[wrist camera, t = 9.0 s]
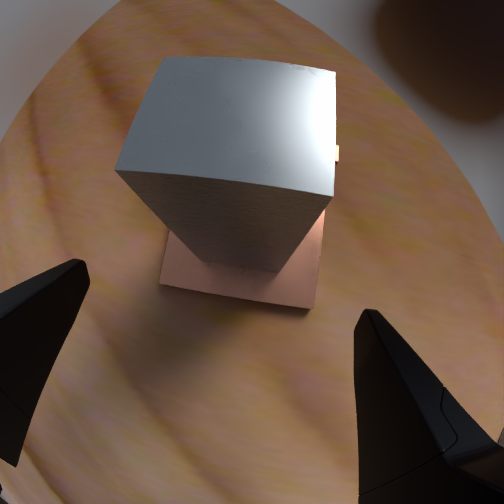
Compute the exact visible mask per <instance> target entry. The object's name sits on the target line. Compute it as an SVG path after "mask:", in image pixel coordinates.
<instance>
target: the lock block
mask: <svg viewBox="0 0 504 504" xmlns="http://www.w3.org/2000/svg"><path fill="white" fill-rule="evenodd" d="M335 141H336V89H335V72H332V71H327V70H323V69H318V68H312V67H307V66H301V65H295V64H289V63H282V62H274V61H266V60H256V59H245V58H230V57H164V59H163V61H162V63H161V64H160V66H159V68H158V70H157V72H156V74H155V76H154V78H153V80H152V82H151V84H150V86H149V88H148V90H147V92H146V94H145V96H144V98H143V100H142V102H141V105H140V107H139V109H138V111H137V113H136V116H135V118H134V120H133V123H132V125H131V127H130V130H129V132H128V135H127V137H126V140H125V142H124V145H123V147H122V150H121V153H120V155H119V158H118V161H117V164H116V166H115V169H114V170H115V171H116V172H117V173H118V174H119V176H120V177H121V178H122V179H123V180H124V181H125V182H126V183H127V184H128V185H129V187H130V188H131V189H132V190H133V191H134V192H135V193H136V194H137V195H138V196H139V197H140V198H141V200H142V201H143V202H144V203H145V204H146V205H147V206H148V207H149V208H150V209H151V210H152V211H153V212H154V213H155V214H156V215H157V217H158V218H159V219H160V220H161V221H162V222H163V223H164V224H165V225H166V226H167V227H168V228H169V229H170V230H171V231H172V232H173V233H174V234H175V235H176V236H177V237H178V238H179V239H180V240H181V241H182V242H183V243H184V244H185V245H186V247H187V248H188V249H189V250H190V251H191V252H192V253H193V254H194V255H195V256H196V257H197V258H198V259H199V260H200V261H204V262H210V263H217V264H223V265H229V266H236V267H242V268H248V269H255V270H261V271H268V272H275V273H279V272H280V271H281V270H282V268H283V267H284V265H285V264H286V263H287V261H288V260H289V259H290V257H291V256H292V254H293V253H294V252H295V250H296V249H297V247H298V246H299V245H300V243H301V242H302V240H303V239H304V238H305V236H306V235H307V233H308V232H309V231H310V229H311V228H312V226H313V225H314V224H315V222H316V221H317V219H318V218H319V216H320V215H321V214H322V212H323V211H324V209H325V208H326V206H327V205H328V203H329V202H330V201H331V199H332V198H333V192H334V172H335Z"/></svg>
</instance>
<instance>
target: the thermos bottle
mask: <svg viewBox="0 0 504 504" xmlns="http://www.w3.org/2000/svg"><path fill="white" fill-rule="evenodd" d="M498 444H499V445H501V446H502V447H504V429H503V432H502V434H501V437H500V440H499V443H498Z"/></svg>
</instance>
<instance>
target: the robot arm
mask: <svg viewBox="0 0 504 504" xmlns="http://www.w3.org/2000/svg"><path fill="white" fill-rule="evenodd" d="M89 286H90V278H89V274H88V270H87V266H86V263H85V261H83V260H80V259H71V260H69V261H67V262H65V263H62V264H60V265H58V266H56V267H54V268H52V269H49V270H47V271H45V272H43V273H41V274H39V275H37V276H34V277H32V278H30V279H28V280H26V281H24V282H22V283H20V284H18V285H16V286H14V287H12V288H10V289H8V290H6V291H4V292H2V293H0V458H1V459H2V460H4V461H6V462H7V463H9V464H10V465H12V466H14V467H16V466H17V464H18V461H19V457H20V454H21V450H22V447H23V444H24V440H25V437H26V434H27V431H28V428H29V425H30V422H31V419H32V416H33V413H34V411H35V408H36V405H37V403H38V400H39V398H40V395H41V393H42V390H43V388H44V385H45V383H46V381H47V378H48V376H49V374H50V371H51V369H52V367H53V365H54V363H55V360H56V358H57V356H58V354H59V352H60V350H61V348H62V346H63V344H64V341H65V339H66V337H67V335H68V333H69V331H70V330H71V328H72V325H73V323H74V321H75V319H76V317H77V314H78V312H79V309H80V307H81V305H82V302H83V300H84V297H85V295H86V293H87V291H88V288H89ZM354 387H355V399H356V413H357V430H358V456H359V497H358V504H504V447H502V446H501V445H499V444H497V443H496V442H495V441H494V440H493V439H491V437H490V436H489V435H488V434H487V433H486V432H485V431H484V430H483V429H482V428H481V427H480V426H479V425H478V424H477V422H476V421H475V420H474V419H473V418H472V417H471V416H470V415H469V414H468V413H467V412H466V411H465V410H464V409H463V407H462V406H461V405H460V404H459V403H458V402H457V400H456V399H455V398H454V397H453V396H452V395H451V393H450V392H449V391H448V390H447V389H446V387H443V384H442V383H441V381H440V380H439V379H438V378H437V377H436V375H435V374H434V373H433V372H432V371H431V370H430V368H429V367H428V366H427V365H426V364H425V363H424V361H423V360H422V359H421V358H420V357H419V356H418V355H417V353H416V352H415V351H414V350H413V349H412V348H411V347H410V345H409V344H408V343H407V342H406V341H405V340H404V339H403V338H402V336H401V335H400V334H399V333H398V332H397V331H396V330H395V329H394V328H393V326H392V325H391V324H390V323H389V322H388V321H387V320H386V319H385V318H384V317H383V316H382V314H381V313H380V312H379V311H378V310H374V309H365V310H364V311H363V312H362V314H361V316H360V318H359V320H358V322H357V324H356V326H355V329H354ZM1 491H2V487H1V484H0V494H1ZM0 504H8V503H7V502H6V501H5V500H3V499H2V498H1V497H0Z"/></svg>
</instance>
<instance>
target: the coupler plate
mask: <svg viewBox="0 0 504 504" xmlns="http://www.w3.org/2000/svg"><path fill="white" fill-rule="evenodd" d="M338 152H339V146H338V145H335V166H336V164H337V163H338ZM324 213H325V209H324V211H323V212H322V214H321V215H320V216H319V218H318V219H317V221H316V222H315V224H314V225H313V226H312V228H311V229H310V231H309V232H308V233H307V235H306V236H305V238H304V239H303V240H302V242H301V243H300V245H299V246H298V247H297V249H296V250H295V252H294V253H293V254H292V256H291V257H290V259H289V260H288V261H287V263H286V264H285V265H284V267H283V268H282V270H281V271H280V272H279V273H275V272H268V271H261V270H255V269H248V268H242V267H236V266H229V265H223V264H217V263H210V262H204V261H200V260H199V259H198V258H197V257H196V256H195V255H194V254H193V253H192V252H191V251H190V250H189V249H188V248H187V247H186V245H185V244H184V243H183V242H182V241H181V240H180V239H179V238H178V237H177V236H176V235H175V234H174V233H173V232H172V231H171V230H170V232H169V236H168V241H167V245H166V250H165V254H164V259H163V264H162V269H161V274H160V279H159V284H162V285H167V286H173V287H178V288H183V289H188V290H194V291H199V292H204V293H210V294H216V295H221V296H227V297H233V298H239V299H245V300H251V301H258V302H264V303H271V304H277V305H284V306H291V307H298V308H306V309H313V308H314V301H315V294H316V286H317V279H318V271H319V262H320V253H321V244H322V234H323V224H324Z"/></svg>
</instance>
